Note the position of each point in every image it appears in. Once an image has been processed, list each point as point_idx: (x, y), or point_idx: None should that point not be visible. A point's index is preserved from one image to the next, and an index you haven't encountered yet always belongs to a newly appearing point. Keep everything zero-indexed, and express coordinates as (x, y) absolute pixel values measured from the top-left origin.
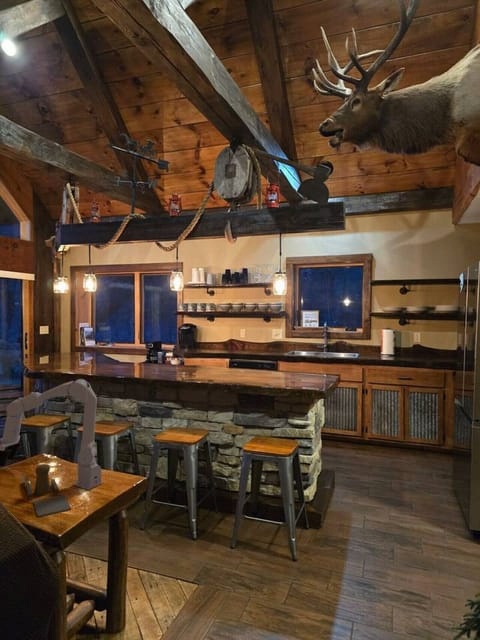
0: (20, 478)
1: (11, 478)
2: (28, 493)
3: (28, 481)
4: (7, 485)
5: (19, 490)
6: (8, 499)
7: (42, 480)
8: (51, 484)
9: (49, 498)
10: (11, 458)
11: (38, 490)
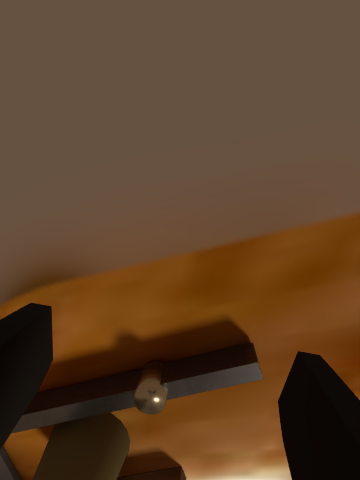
0: (332, 306)
1: (352, 250)
2: (34, 403)
3: (149, 404)
4: (228, 254)
5: (136, 335)
6: (25, 305)
7: None
8: (166, 476)
9: (5, 477)
10: (285, 405)
11: (44, 451)
